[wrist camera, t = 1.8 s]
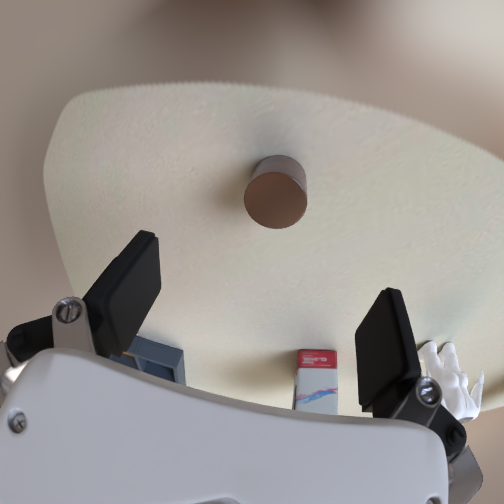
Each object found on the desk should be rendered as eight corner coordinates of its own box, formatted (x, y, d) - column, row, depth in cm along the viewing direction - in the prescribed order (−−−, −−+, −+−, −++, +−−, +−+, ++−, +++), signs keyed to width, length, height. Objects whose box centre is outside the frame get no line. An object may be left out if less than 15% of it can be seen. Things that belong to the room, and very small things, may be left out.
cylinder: (242, 177, 21) (231, 198, 18) (281, 143, 19) (277, 159, 16) (277, 212, 22) (273, 239, 19) (316, 183, 20) (320, 206, 17)
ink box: (299, 348, 32) (291, 438, 23) (338, 349, 31) (339, 439, 22) (293, 380, 37) (285, 455, 28) (326, 382, 36) (324, 456, 27)
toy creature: (389, 358, 31) (399, 441, 22) (412, 330, 28) (431, 421, 18) (451, 361, 31) (467, 430, 21) (475, 336, 27) (498, 409, 18)
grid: (122, 365, 45) (116, 377, 42) (106, 324, 37) (97, 339, 35) (186, 386, 44) (181, 401, 42) (183, 350, 37) (176, 367, 34)
